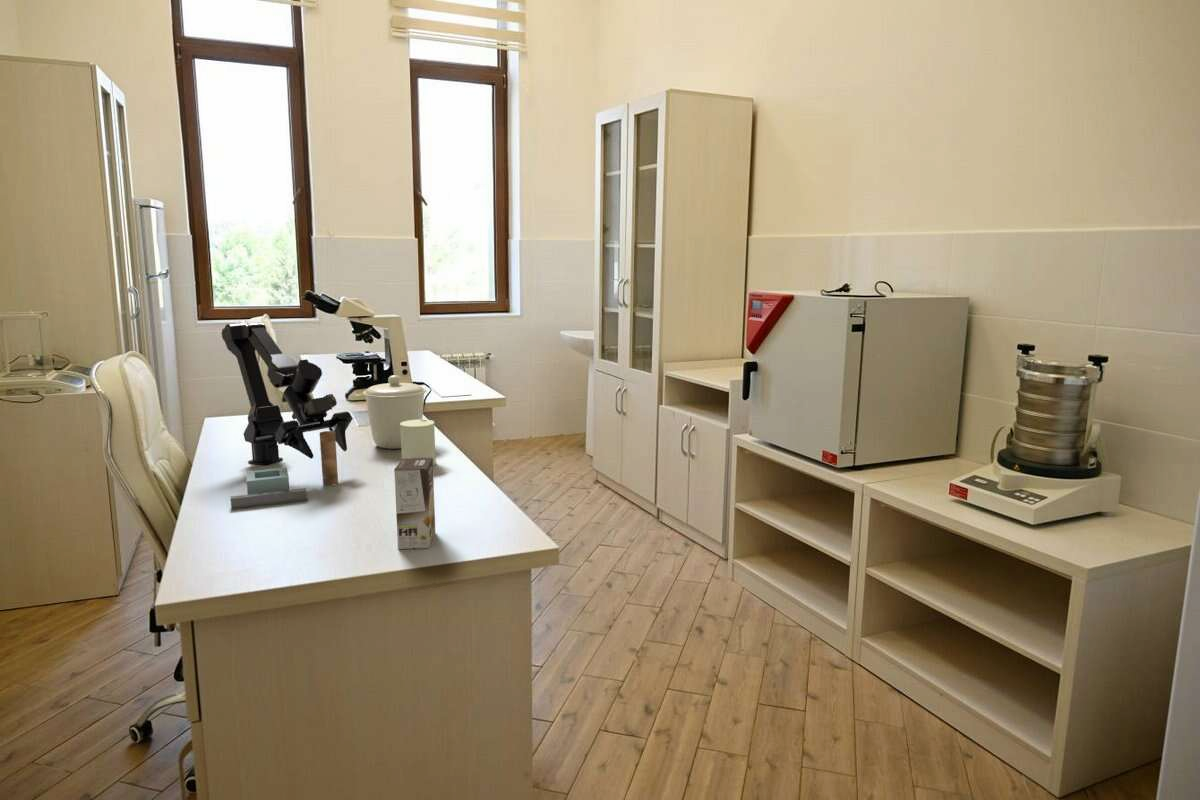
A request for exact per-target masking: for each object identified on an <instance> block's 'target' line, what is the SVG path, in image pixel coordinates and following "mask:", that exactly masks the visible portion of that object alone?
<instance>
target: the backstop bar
mask: <svg viewBox="0 0 1200 800" xmlns="http://www.w3.org/2000/svg"><path fill="white" fill-rule="evenodd" d="M307 493H308V491H307V487H306V488H302V487H301V488H295V489H290V490H284V491H275V492H266V493H257V494H248V493H247V494H241V495H231V496H230V509H233V510H239V509H238V508H241V509H247V508H246V507H250V508H257V507H258V508H259V507H266V506H273V505H274V504H275V505H282V504H292V503H298V502H299V503H300V502H306V501H308V494H307Z"/></svg>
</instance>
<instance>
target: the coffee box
mask: <svg viewBox="0 0 1200 800" xmlns="http://www.w3.org/2000/svg"><path fill="white" fill-rule="evenodd" d="M393 470H394V471H393V472H394V489H395V490H394V491H395V494H394V495H395V509H396V510H395V511H396V512H395V513H396V529H397V530H396V533H397V534H396V535H397V537H396V538H397V549H398V550H411V549H412V550H413V548H415V550H416V549H430V547H431V545H432V542H433V540H434V537H435V535H436V514H435V512H436V511H435V509H436V508H435V483H434V481H435V480H434V466H433V458H406V459H402V458H401V460H400V461H399V462H398V464H397V465H396V467H394V469H393Z"/></svg>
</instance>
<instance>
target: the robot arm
mask: <svg viewBox="0 0 1200 800" xmlns="http://www.w3.org/2000/svg"><path fill="white" fill-rule="evenodd" d="M221 337H222V340H223V341H224V343H225V346H226V348H227V350H228V351H229V352H230V353H232V355H234V357H236V360H237V363H238V366H239V370H240V374H241V378H242V381H243V384H244V387H245V390H246V394H247V397H248V401H249V404H250V409H249V411H248V415H247V421H248V424H247V426H246V428H245V429H244V432H243V438H244V441H245V442H247V443H250V444H251V445H250V446H251V456H252V459H251V460H248V461H247V462H248V464H254V463H255V465H262V466H266V465H270V464H273V463H276V462H280V461H283V460H284V458H283V457H280V453H279V445H283V444H284V446H285V447H286V446H289V447H290V448H293V449H295V450H296V451H298V452H299V453H301V454H303V455H304V456H306V457H307V458H309V459H311V460H312V459H313V458H314V453H313V451H312V449H311V446H309V444H308V442H307V441H306V439H305V437H304V433H308V432H309V433H310V432H314V431H321V430H325V429H326V430H327V429H328V431H334V432H335V440H336V444H337V445H338V446H339V447H340V449H341V450H342V451H343V452H347V450H348V445H347V438H346V431H347V429H348V427H349V426H350V424H351V422H352V421H353V417H352V415H351V413H350V412H349V411H340V412H334V413H333V415H332V416H331V418H330V419H326V420H325V418H326V417H327V416H328V413H327V412H328V411H330V410H331V411H332V410H333V408H335V406H337V404H338V403H337V399H336V397H335V396H334V394H333V393H330V394H326V395H324V396H322V397H317V398H313V397H312V395H311V393H312V392H314V391H315V389H316V387H317V385H318V383H319V381H320V380H321V377H322V376H323V371H322V368H321V367H319V366H318V365H316V363H315V364H314V363H313V362H309V360H308V359H306V358H305V359H300V360H299V361H298V363H297V362H296V361H295V360H294V359H293V358H290V357H289V356H286V355H285V354H284V353H283V352H282V350H281V349H280V348H279V346H278V345H277V343H276V342H275V341H274V339H273V338H272V336H271V335H270V333H269V332H268V331H267V327H266V325H265V323H262V322H239V323H227V324H225V326H224V328H222V330H221ZM256 352H257V353H258V355H259V356H260V358H261V359H262V361H263V362H264V363H265V365H266V366H267V377H268V379H269V382H270V383H271V384H272V386H273V387H274V388H276V389H278V388H279V389H281V388H285V390H284V391H283V395H282V397H281V402H282V403H287V405H288V406H289V408H290V410H291V412H292V414H291V417H292V419H293V420H288V421H284V418H283V416H282V413H281V409H280V406H278V404H273V403H272V402H271V401H270V398H269V395H268V392H267V388H266V384H265V381H264V378H263V374H262V371H261V368H260V365H259V364H260V363H259V360H258V357H257V355H256Z"/></svg>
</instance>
